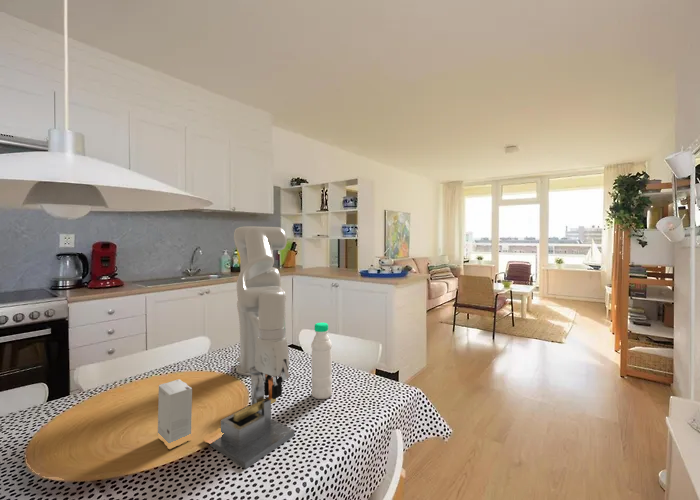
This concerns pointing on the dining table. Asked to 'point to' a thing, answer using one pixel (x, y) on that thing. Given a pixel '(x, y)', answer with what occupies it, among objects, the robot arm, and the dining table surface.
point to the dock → (251, 436)
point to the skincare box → (174, 410)
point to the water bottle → (321, 363)
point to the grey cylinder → (256, 384)
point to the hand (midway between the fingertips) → (273, 394)
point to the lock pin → (256, 406)
